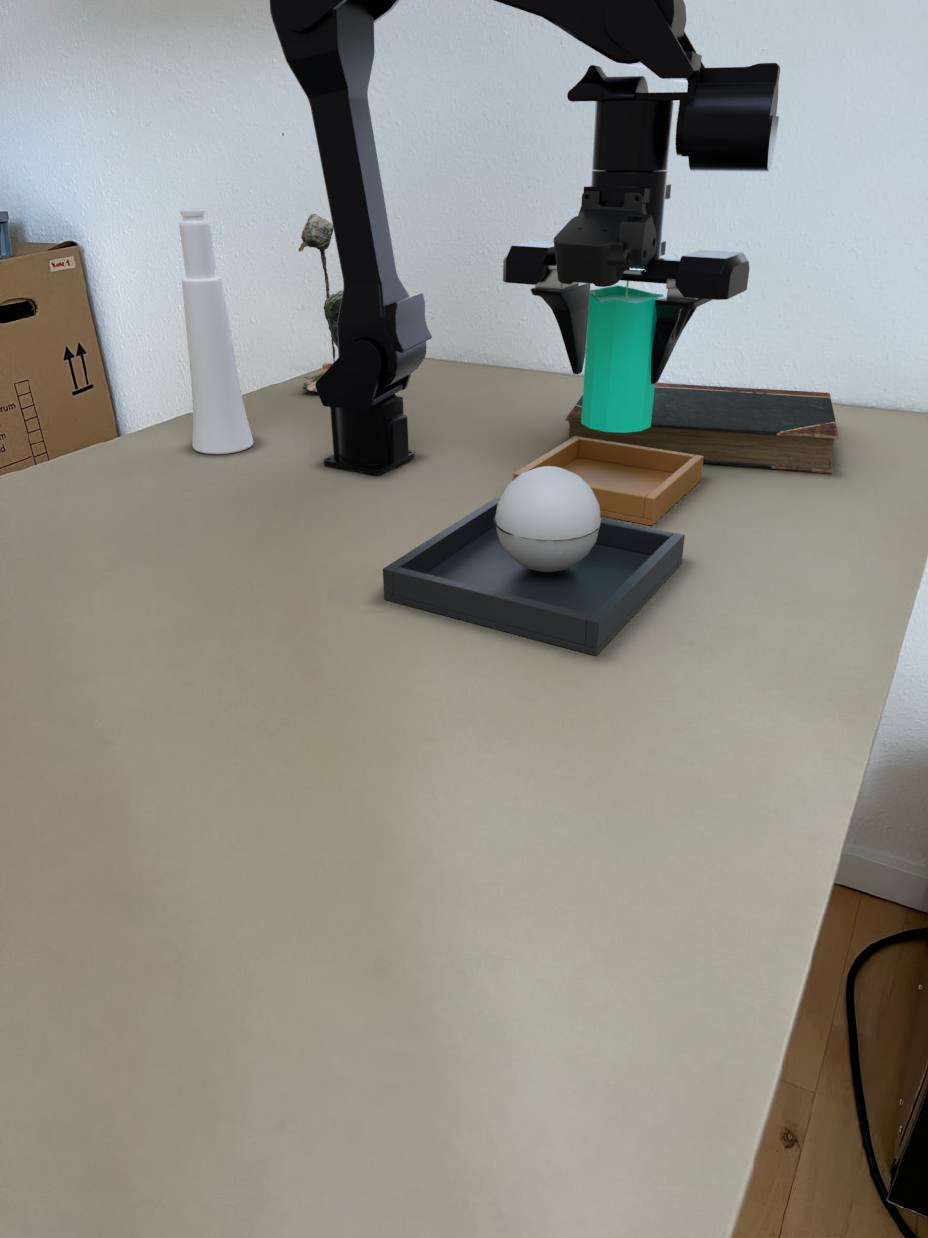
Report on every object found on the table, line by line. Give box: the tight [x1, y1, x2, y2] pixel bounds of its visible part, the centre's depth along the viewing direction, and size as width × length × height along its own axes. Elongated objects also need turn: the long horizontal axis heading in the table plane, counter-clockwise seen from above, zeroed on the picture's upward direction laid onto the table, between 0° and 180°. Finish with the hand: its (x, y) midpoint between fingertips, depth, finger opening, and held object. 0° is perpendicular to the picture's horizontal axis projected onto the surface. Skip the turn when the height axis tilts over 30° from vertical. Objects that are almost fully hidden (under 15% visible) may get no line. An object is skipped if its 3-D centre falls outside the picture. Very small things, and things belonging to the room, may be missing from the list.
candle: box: [581, 281, 665, 433], centre depth 77 cm, size 6×6×12 cm
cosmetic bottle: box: [178, 208, 255, 455], centre depth 90 cm, size 6×6×22 cm
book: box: [564, 382, 840, 474], centre depth 95 cm, size 17×4×25 cm
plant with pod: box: [298, 213, 343, 393], centre depth 111 cm, size 8×11×20 cm
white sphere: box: [493, 466, 602, 572], centre depth 64 cm, size 10×7×7 cm
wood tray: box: [512, 436, 704, 527], centre depth 82 cm, size 13×13×2 cm
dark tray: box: [382, 497, 686, 656], centre depth 66 cm, size 16×16×2 cm
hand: (614, 378), depth 78 cm, fingers closed on candle, 6 cm apart
